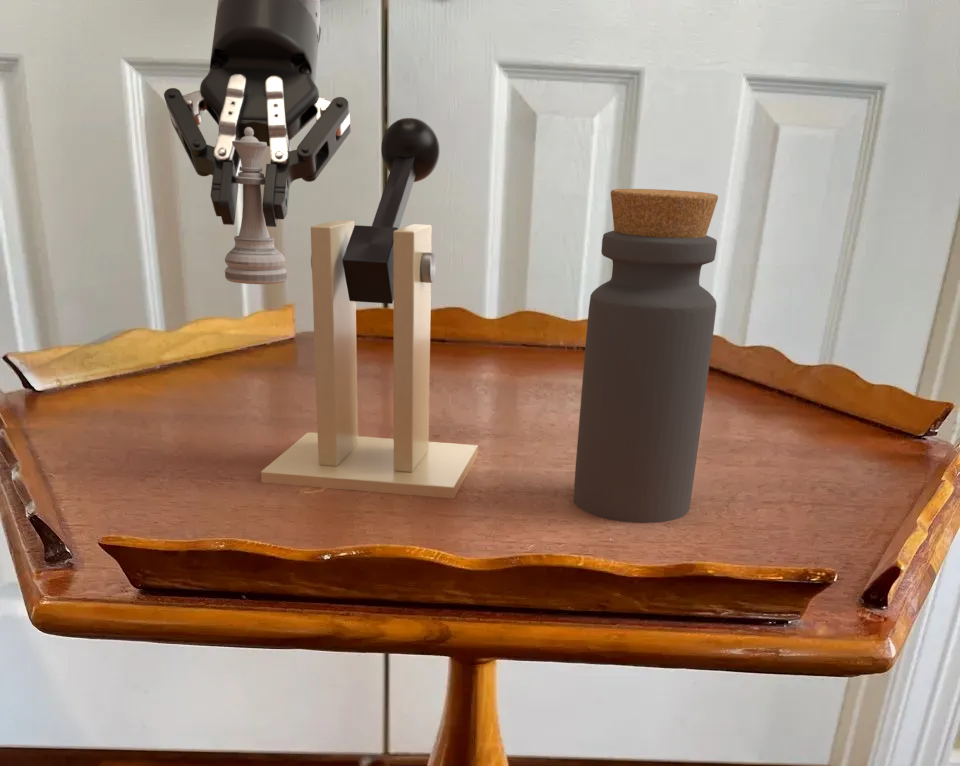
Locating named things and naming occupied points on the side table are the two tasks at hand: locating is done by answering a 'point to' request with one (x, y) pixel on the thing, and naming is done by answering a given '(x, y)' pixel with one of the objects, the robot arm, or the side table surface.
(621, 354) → the bottle
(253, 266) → the chess piece
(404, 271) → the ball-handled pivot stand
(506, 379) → the side table surface
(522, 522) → the side table surface
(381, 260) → the lever
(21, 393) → the side table surface
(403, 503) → the side table surface
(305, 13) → the robot arm
